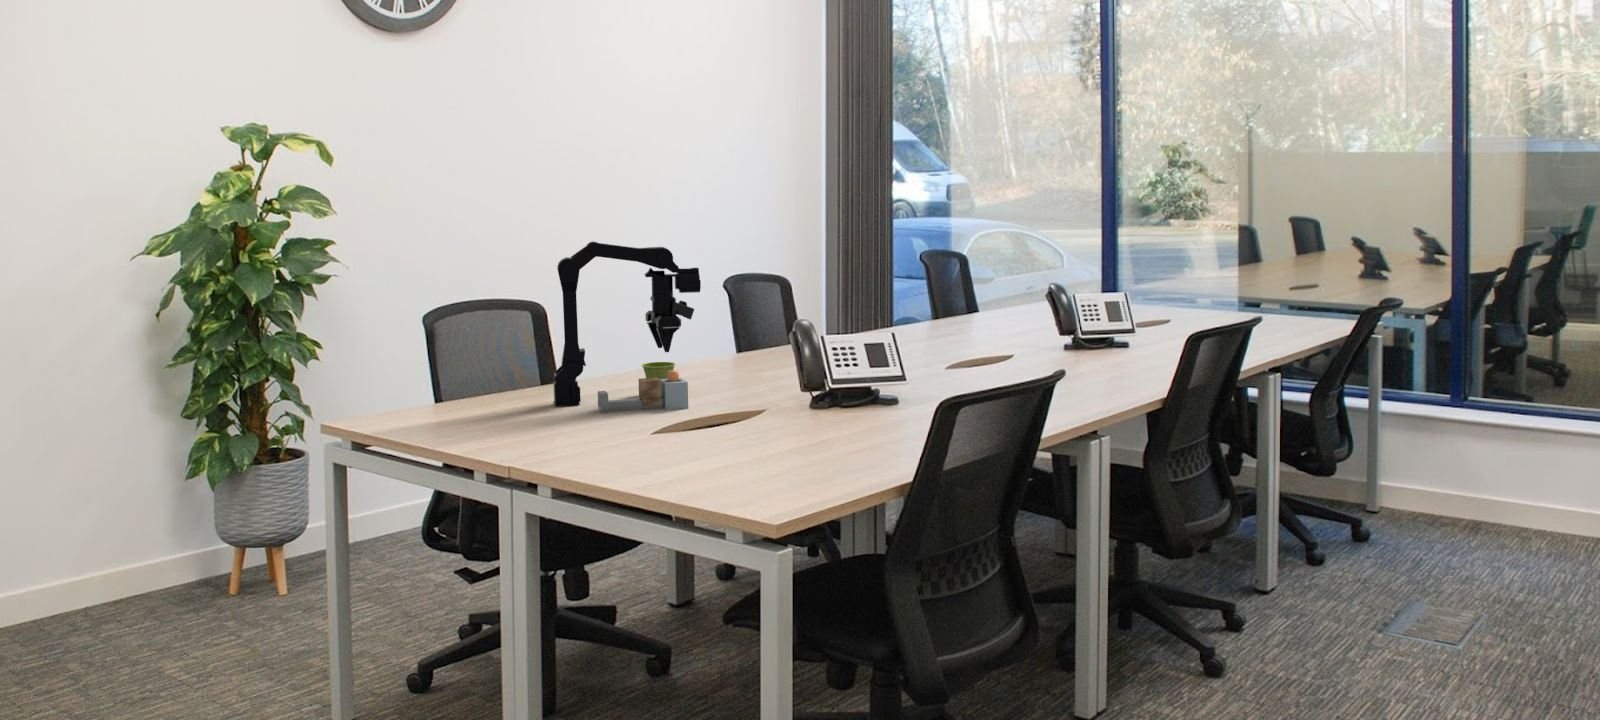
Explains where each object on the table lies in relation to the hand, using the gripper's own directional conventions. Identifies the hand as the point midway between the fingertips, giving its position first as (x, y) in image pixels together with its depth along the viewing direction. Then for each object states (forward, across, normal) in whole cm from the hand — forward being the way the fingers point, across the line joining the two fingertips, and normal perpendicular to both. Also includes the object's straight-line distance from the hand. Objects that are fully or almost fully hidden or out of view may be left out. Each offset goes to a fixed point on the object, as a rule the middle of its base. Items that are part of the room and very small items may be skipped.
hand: (663, 350), depth 376 cm
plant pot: (+14, +10, -1) cm, 17 cm away
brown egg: (+8, -11, 0) cm, 14 cm away
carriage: (+13, -11, +6) cm, 18 cm away
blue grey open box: (+14, -12, 0) cm, 18 cm away
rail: (+14, -11, +10) cm, 20 cm away
